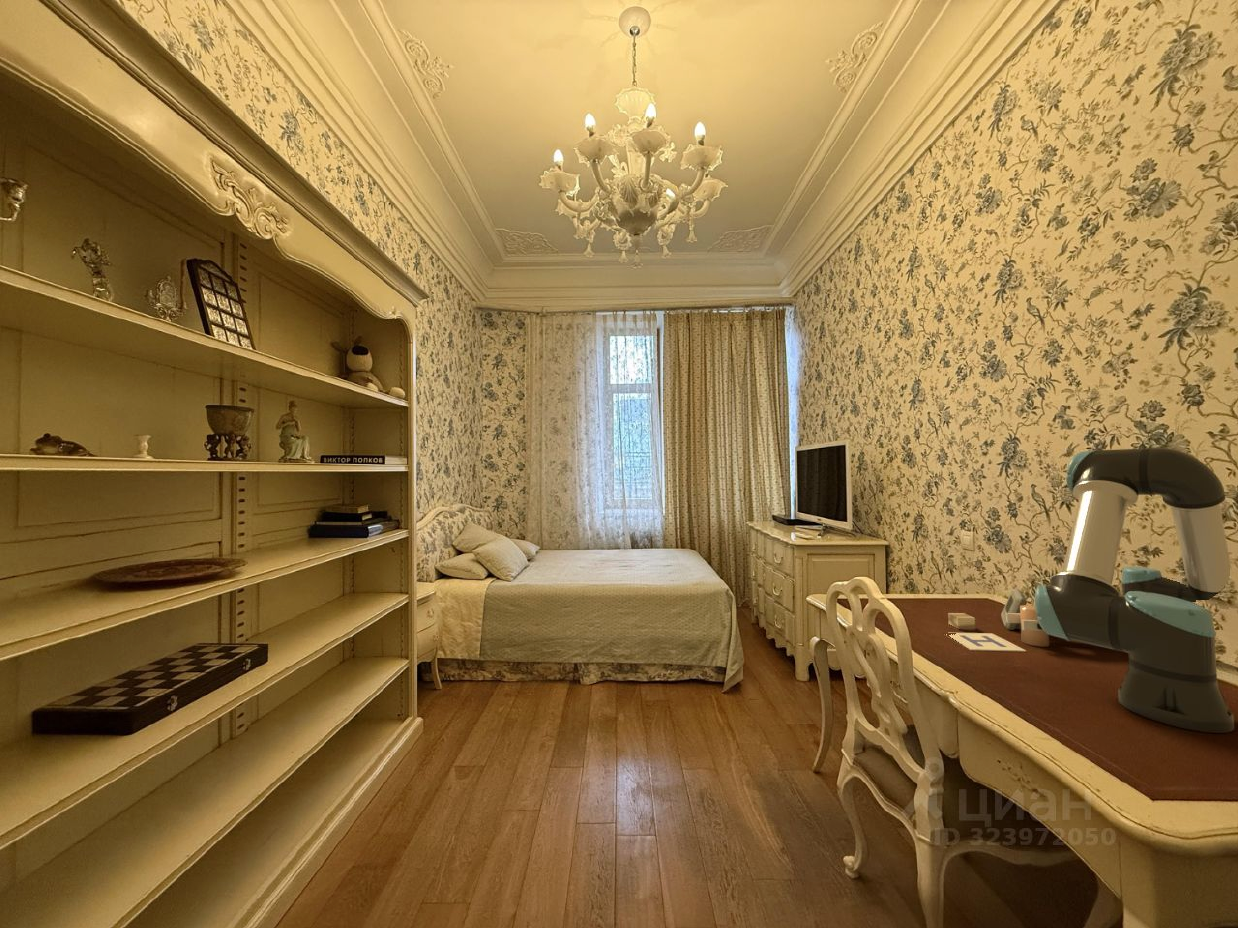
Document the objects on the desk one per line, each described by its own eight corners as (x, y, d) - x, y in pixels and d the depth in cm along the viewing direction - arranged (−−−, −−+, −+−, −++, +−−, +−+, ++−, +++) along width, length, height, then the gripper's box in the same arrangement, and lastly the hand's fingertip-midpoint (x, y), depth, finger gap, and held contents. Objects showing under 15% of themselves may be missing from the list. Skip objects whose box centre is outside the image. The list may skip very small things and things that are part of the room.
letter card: (1026, 651, 128) (1026, 650, 128) (971, 650, 130) (971, 649, 130) (992, 634, 142) (992, 633, 142) (942, 633, 144) (942, 632, 144)
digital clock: (1002, 616, 159) (1000, 585, 159) (1037, 622, 152) (1036, 590, 153) (993, 628, 148) (991, 594, 148) (1030, 634, 141) (1029, 599, 142)
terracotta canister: (1055, 646, 131) (1053, 611, 131) (1031, 646, 132) (1029, 610, 132) (1038, 639, 137) (1037, 605, 137) (1016, 638, 138) (1014, 604, 138)
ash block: (975, 630, 146) (974, 617, 146) (958, 630, 147) (958, 617, 147) (964, 625, 151) (964, 613, 151) (948, 625, 152) (948, 613, 152)
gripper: (1137, 648, 122) (1040, 646, 125) (1076, 625, 141) (993, 624, 144) (1136, 620, 123) (1039, 618, 126) (1075, 600, 141) (992, 599, 144)
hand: (1014, 621), depth 135 cm, fingers closed on terracotta canister, 6 cm apart
